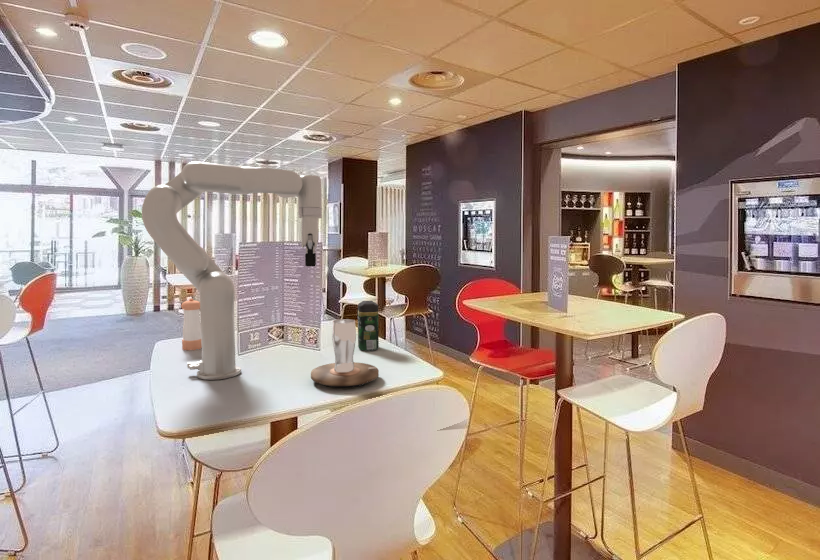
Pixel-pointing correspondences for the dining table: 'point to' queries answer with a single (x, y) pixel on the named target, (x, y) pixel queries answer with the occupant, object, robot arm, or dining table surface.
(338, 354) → the beer glass
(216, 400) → the dining table surface
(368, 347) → the coffee jar
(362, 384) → the turntable base
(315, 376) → the disc
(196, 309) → the orange and white bottle
